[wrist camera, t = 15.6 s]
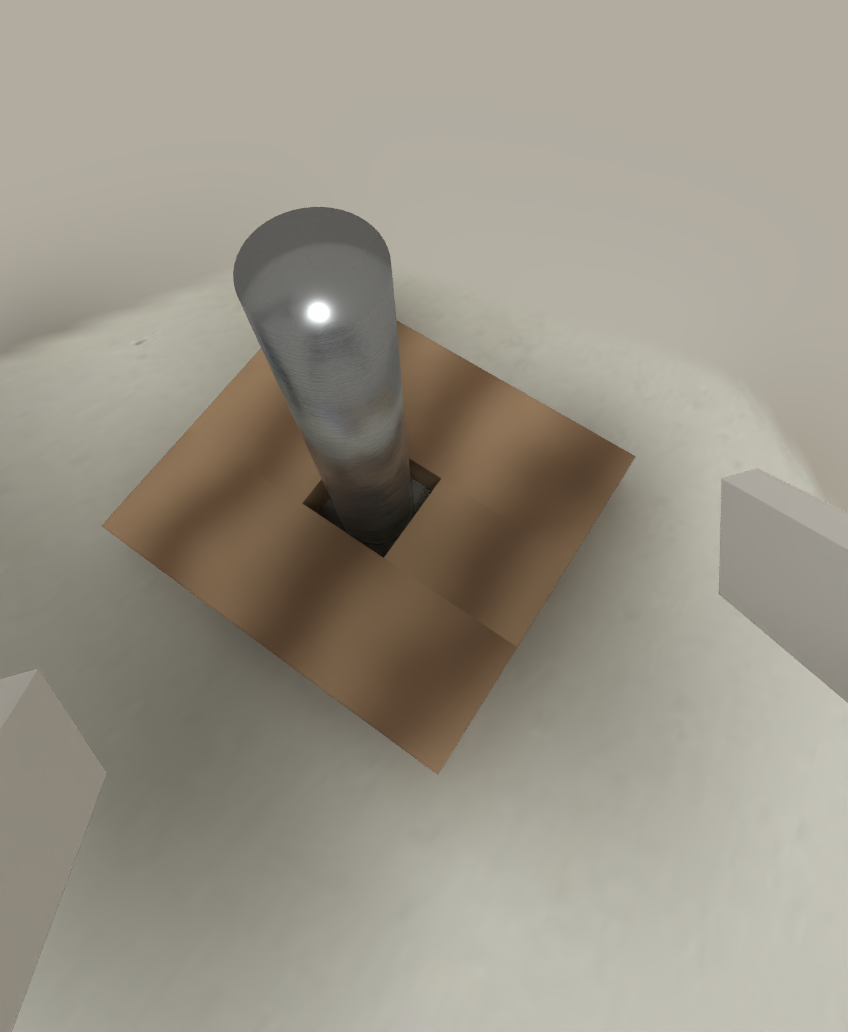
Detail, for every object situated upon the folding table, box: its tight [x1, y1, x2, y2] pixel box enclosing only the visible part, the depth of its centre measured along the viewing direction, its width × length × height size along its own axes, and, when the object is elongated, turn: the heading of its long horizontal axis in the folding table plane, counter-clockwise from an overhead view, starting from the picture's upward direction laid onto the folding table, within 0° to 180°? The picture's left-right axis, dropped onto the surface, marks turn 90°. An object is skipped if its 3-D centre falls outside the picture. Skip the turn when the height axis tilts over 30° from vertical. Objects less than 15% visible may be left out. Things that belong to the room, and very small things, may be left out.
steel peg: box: [233, 207, 413, 544], centre depth 24 cm, size 4×4×18 cm
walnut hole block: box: [102, 321, 635, 775], centre depth 31 cm, size 20×18×2 cm
